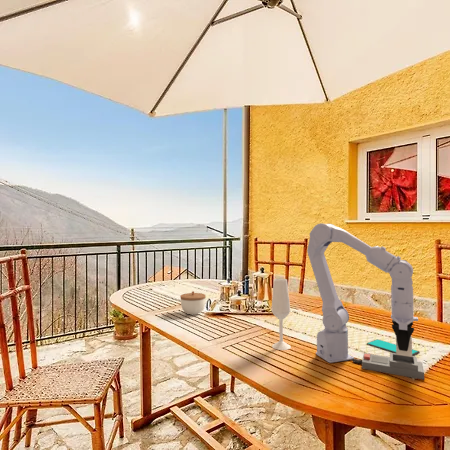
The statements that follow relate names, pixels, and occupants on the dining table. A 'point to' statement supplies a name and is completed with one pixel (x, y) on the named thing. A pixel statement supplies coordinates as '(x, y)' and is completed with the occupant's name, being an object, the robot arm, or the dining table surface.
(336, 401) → the dining table surface
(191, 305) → the lidded sugar bowl
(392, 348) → the smartphone
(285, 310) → the champagne flute
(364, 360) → the power strip
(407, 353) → the block
